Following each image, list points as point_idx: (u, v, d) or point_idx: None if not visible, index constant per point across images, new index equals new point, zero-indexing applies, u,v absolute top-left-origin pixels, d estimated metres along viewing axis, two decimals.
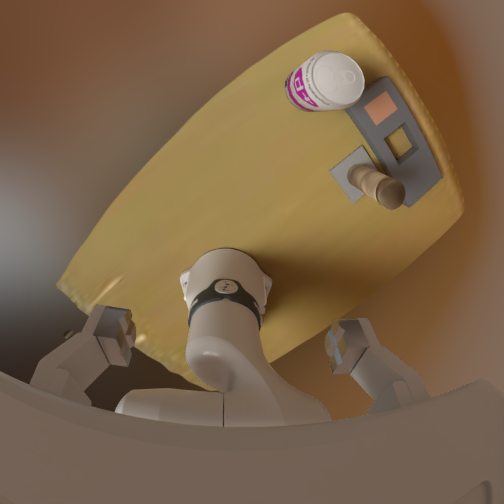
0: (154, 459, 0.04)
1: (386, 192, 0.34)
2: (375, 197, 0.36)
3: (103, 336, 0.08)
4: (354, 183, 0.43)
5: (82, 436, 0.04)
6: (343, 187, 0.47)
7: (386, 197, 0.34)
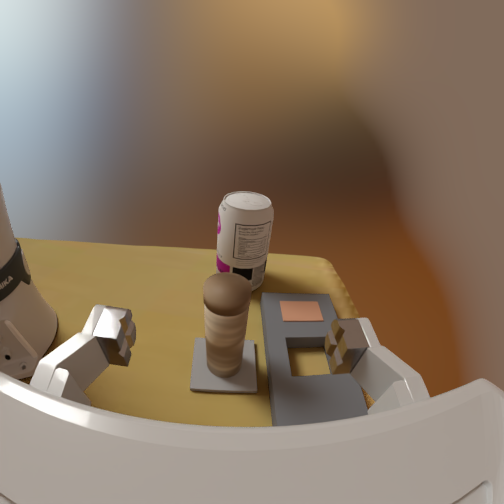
0: (154, 459, 0.04)
1: (219, 279, 0.26)
2: None
3: (103, 336, 0.08)
4: None
5: (82, 436, 0.04)
6: (195, 362, 0.32)
7: (215, 283, 0.25)
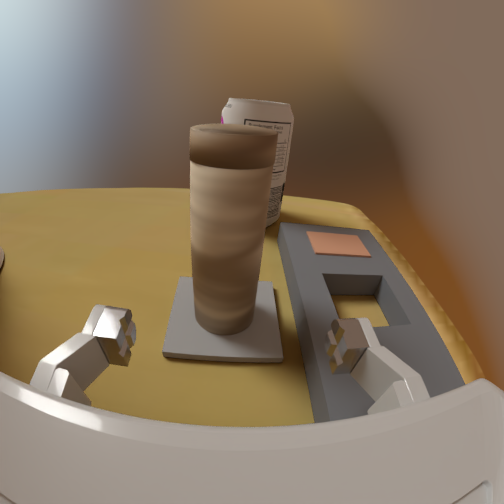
0: (154, 459, 0.04)
1: (220, 125, 0.14)
2: None
3: (103, 336, 0.08)
4: None
5: (82, 436, 0.04)
6: (175, 310, 0.20)
7: (212, 126, 0.13)
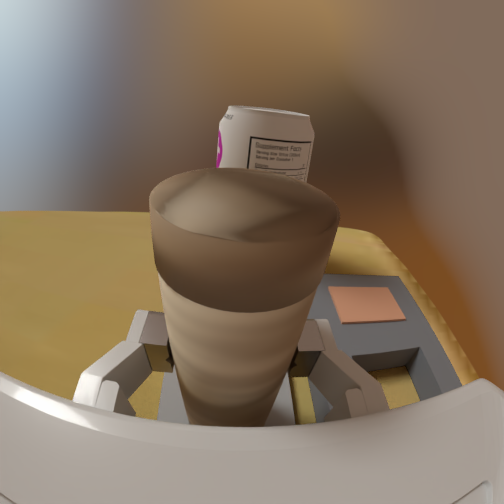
0: (154, 459, 0.04)
1: (216, 178, 0.07)
2: None
3: (151, 343, 0.08)
4: None
5: (82, 436, 0.04)
6: (163, 412, 0.13)
7: (198, 184, 0.07)
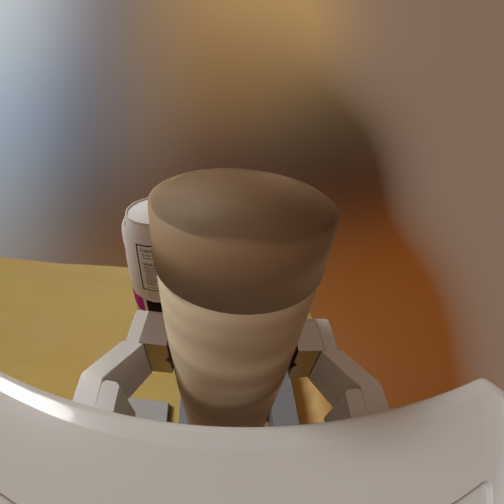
0: (154, 459, 0.04)
1: (215, 179, 0.07)
2: None
3: (151, 343, 0.08)
4: None
5: (82, 436, 0.04)
6: None
7: (197, 185, 0.07)
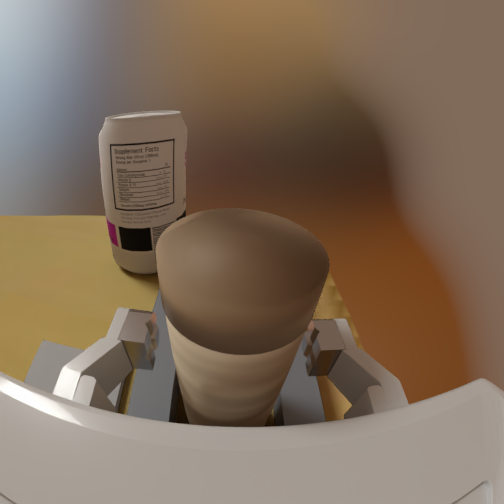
0: (154, 459, 0.04)
1: (216, 223, 0.08)
2: None
3: (130, 340, 0.08)
4: None
5: (82, 436, 0.04)
6: (27, 380, 0.12)
7: (200, 233, 0.07)
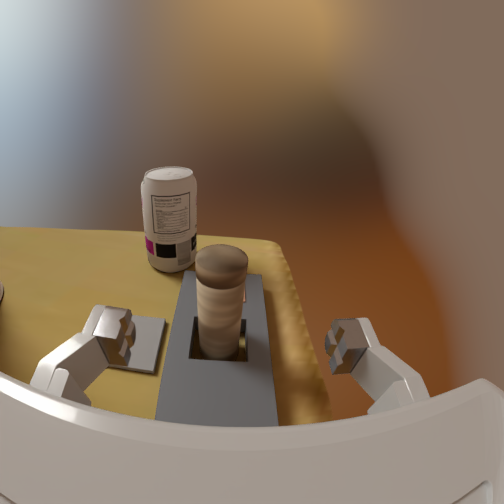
0: (154, 459, 0.04)
1: (213, 250, 0.24)
2: None
3: (103, 336, 0.08)
4: None
5: (82, 436, 0.04)
6: None
7: (208, 254, 0.23)
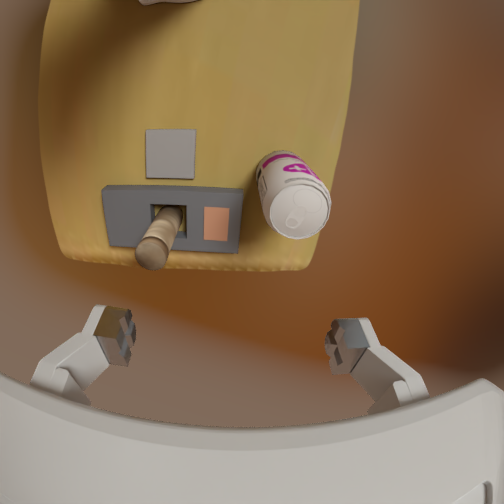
0: (154, 459, 0.04)
1: (157, 252, 0.34)
2: (155, 235, 0.35)
3: (103, 336, 0.08)
4: (169, 211, 0.42)
5: (82, 436, 0.04)
6: (169, 131, 0.37)
7: (152, 249, 0.34)
